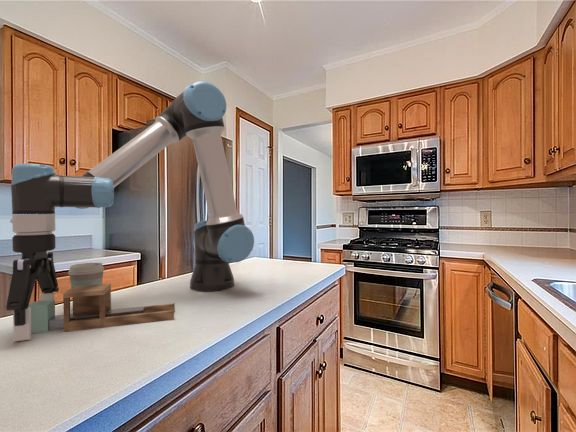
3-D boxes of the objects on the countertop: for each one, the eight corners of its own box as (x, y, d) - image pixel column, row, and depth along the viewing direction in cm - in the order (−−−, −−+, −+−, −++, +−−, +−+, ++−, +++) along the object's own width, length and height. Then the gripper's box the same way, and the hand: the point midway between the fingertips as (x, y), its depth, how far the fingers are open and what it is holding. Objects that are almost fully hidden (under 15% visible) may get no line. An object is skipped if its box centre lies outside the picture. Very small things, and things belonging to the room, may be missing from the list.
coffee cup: (87, 313, 82) (86, 268, 82) (60, 312, 84) (59, 267, 83) (112, 304, 90) (111, 262, 90) (87, 302, 92) (86, 261, 92)
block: (55, 325, 74) (54, 299, 74) (47, 331, 70) (47, 304, 70) (33, 327, 73) (33, 301, 72) (25, 334, 69) (24, 306, 68)
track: (174, 310, 84) (174, 279, 83) (174, 319, 77) (173, 284, 77) (74, 321, 76) (73, 286, 76) (63, 331, 70) (63, 293, 70)
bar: (144, 317, 80) (144, 306, 80) (143, 321, 77) (143, 310, 77) (54, 327, 73) (54, 315, 73) (49, 332, 70) (49, 320, 70)
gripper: (37, 230, 81) (39, 314, 81) (-20, 238, 58) (-18, 354, 58) (71, 230, 83) (73, 311, 84) (29, 237, 60) (31, 348, 61)
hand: (36, 329), depth 71 cm, fingers open, 12 cm apart
